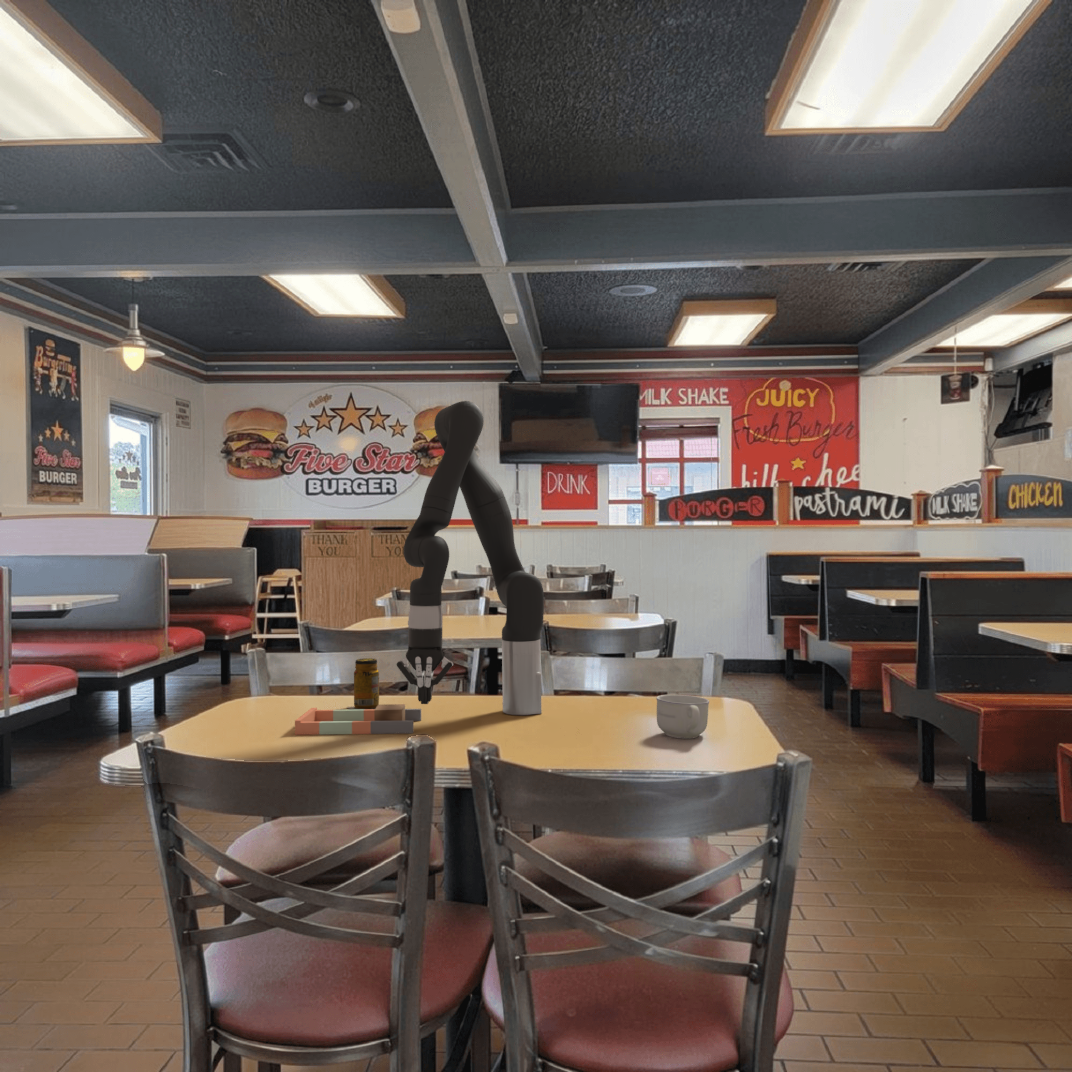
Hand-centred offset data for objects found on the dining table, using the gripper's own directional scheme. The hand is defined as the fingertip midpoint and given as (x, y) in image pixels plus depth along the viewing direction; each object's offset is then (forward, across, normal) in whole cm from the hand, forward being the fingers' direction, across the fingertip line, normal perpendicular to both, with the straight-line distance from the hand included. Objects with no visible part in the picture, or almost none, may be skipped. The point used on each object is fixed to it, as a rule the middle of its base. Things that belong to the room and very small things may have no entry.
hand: (424, 703), depth 190 cm
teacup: (+4, -56, +12) cm, 57 cm away
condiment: (+6, +17, -19) cm, 26 cm away
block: (+5, +8, 0) cm, 9 cm away
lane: (+5, +14, +1) cm, 15 cm away
